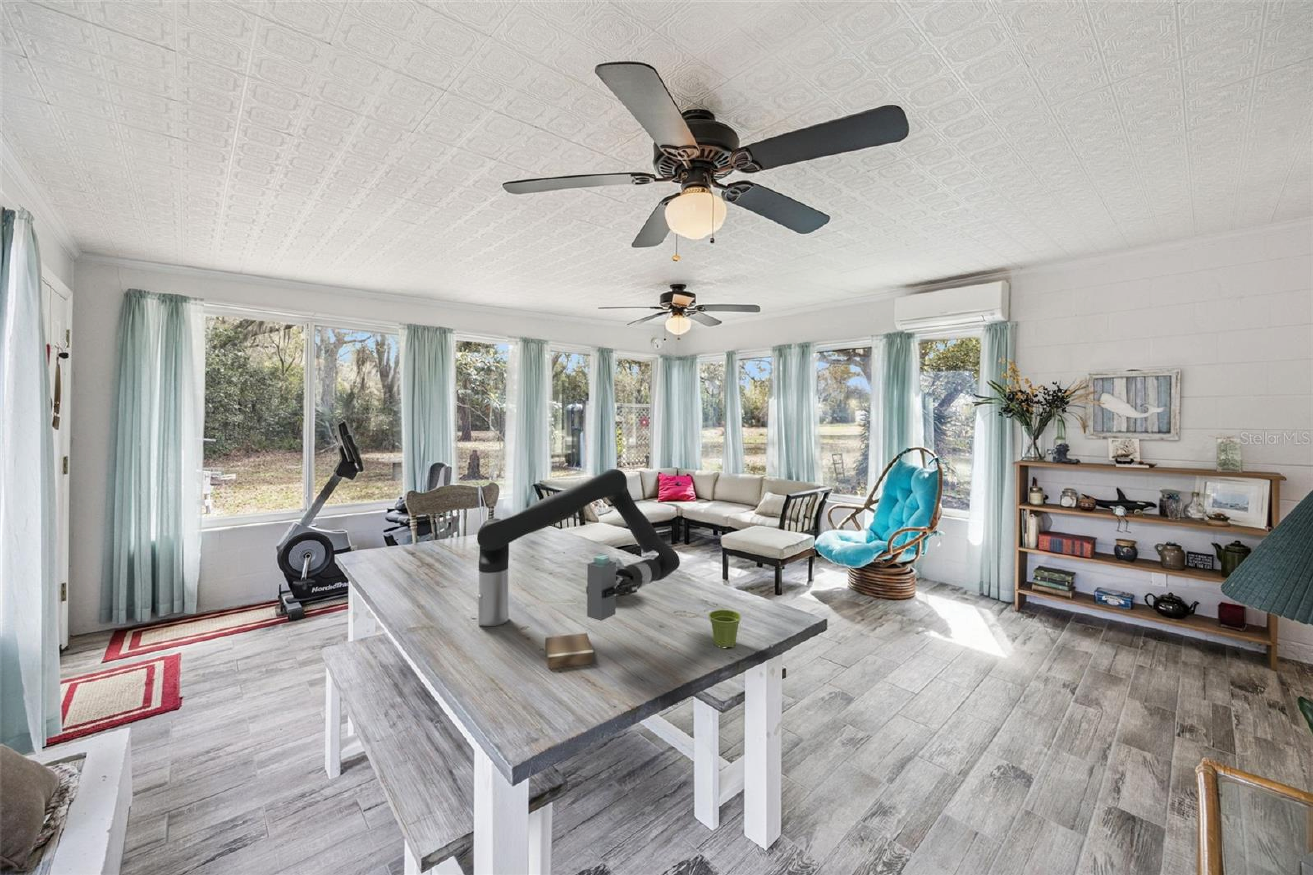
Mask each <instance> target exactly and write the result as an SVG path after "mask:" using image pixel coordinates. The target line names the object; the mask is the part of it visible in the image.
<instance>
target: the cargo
mask: <svg viewBox="0 0 1313 875" xmlns="http://www.w3.org/2000/svg"><path fill="white" fill-rule="evenodd" d="M593 561H594V565H598V566H603V565H606V564H609V563H610V557H607V556H604V555H598V556H594V557H593Z"/></svg>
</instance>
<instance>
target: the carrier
mask: <svg viewBox="0 0 1313 875" xmlns="http://www.w3.org/2000/svg"><path fill="white" fill-rule="evenodd" d="M586 570H587V571H586V574H587V575H586V582H587V584H586V587H587V593H586V594H587V595H586V596H587V597H586V600H587V602H586V603H587V604H586V607H587V610H586V617H587V618H590V619H593V620H597V621H600V622H602V621H604V620H606V619H608V618H610V617H613V616H614V615H616V603H617V602H616V600H617V599H616V597H617V595H616V596H613V595H612V596H610V597H607V598H605V599H604V598H602V591H603V590H604V589H607V588H609V587H613V585H616V562H614V561H610V563H609V564H606V565H603V566H598V565H594V562H592V561H591V562H589V563H587V569H586Z"/></svg>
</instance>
